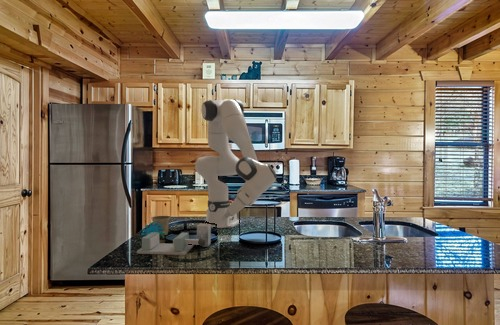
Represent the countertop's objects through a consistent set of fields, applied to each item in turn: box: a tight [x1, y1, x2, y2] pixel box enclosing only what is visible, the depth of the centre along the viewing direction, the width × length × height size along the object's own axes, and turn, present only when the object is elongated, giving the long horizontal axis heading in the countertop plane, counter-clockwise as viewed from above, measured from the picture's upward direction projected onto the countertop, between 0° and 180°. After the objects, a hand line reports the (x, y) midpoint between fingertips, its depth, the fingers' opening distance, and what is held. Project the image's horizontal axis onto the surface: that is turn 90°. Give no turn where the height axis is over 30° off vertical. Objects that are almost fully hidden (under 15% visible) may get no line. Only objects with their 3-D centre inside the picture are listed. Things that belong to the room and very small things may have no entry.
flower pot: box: [151, 215, 171, 236], centre depth 162 cm, size 9×9×9 cm
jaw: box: [172, 232, 206, 251], centre depth 135 cm, size 12×10×5 cm
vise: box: [136, 232, 194, 256], centre depth 136 cm, size 20×12×6 cm, turn 84°
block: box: [196, 223, 212, 248], centre depth 143 cm, size 5×5×9 cm
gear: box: [141, 222, 166, 239], centre depth 154 cm, size 11×6×10 cm
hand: (224, 217), depth 142 cm, fingers open, 8 cm apart
